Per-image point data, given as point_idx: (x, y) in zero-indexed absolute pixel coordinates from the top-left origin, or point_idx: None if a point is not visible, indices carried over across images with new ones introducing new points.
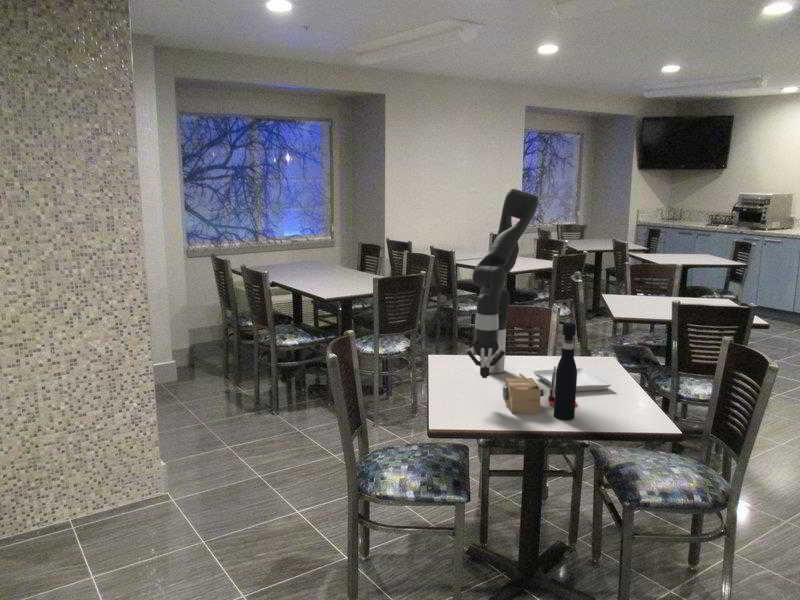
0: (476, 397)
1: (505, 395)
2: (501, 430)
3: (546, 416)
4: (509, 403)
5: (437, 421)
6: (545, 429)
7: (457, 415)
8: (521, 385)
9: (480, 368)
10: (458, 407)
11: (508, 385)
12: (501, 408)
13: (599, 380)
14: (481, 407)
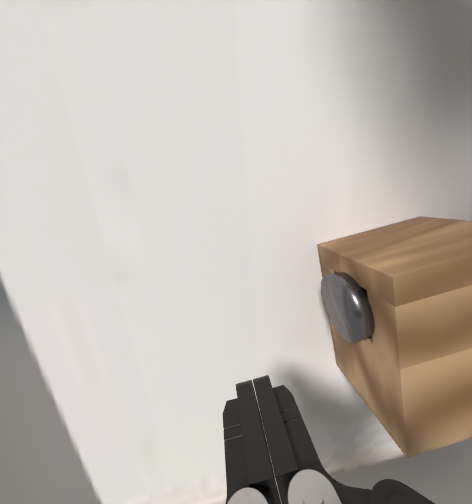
0: (199, 232)
1: (341, 335)
2: None
3: None
4: (343, 343)
5: (111, 490)
6: None
7: (161, 431)
8: (463, 387)
9: (230, 478)
10: (148, 364)
11: (388, 359)
12: (304, 329)
13: None
14: (232, 340)
